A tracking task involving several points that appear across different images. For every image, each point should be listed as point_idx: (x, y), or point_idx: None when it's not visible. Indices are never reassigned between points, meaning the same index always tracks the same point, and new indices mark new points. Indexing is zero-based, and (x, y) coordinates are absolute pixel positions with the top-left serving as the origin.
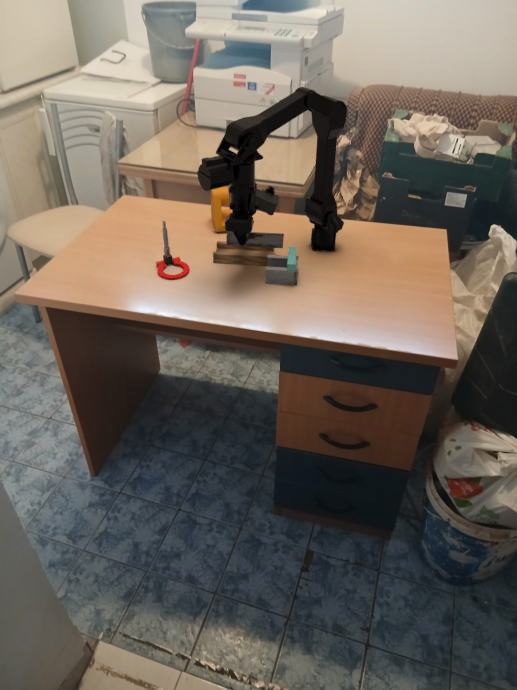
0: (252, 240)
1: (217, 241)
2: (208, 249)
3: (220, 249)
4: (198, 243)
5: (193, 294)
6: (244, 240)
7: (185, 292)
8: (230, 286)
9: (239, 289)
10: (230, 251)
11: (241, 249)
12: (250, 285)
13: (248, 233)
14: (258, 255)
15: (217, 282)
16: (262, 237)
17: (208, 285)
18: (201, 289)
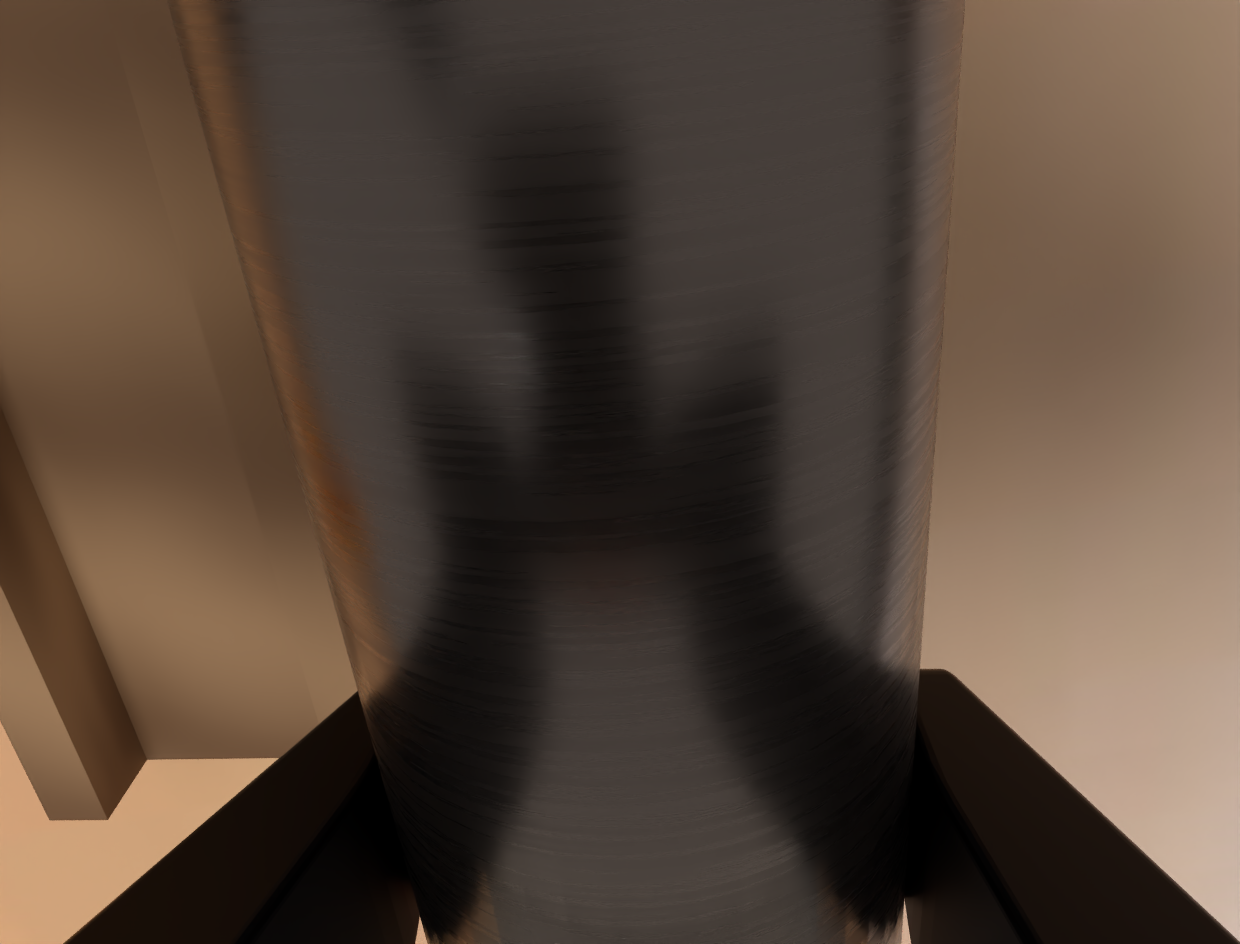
0: (920, 522)
1: (54, 816)
2: (161, 809)
3: (152, 717)
4: (82, 909)
5: (1210, 795)
6: (1088, 826)
7: (1159, 866)
8: (1029, 432)
9: (1120, 290)
10: (148, 598)
11: (22, 466)
12: (996, 132)
13: (693, 846)
14: (203, 149)
15: (925, 604)
16: (880, 64)
17: (1004, 687)
18: (1099, 740)
